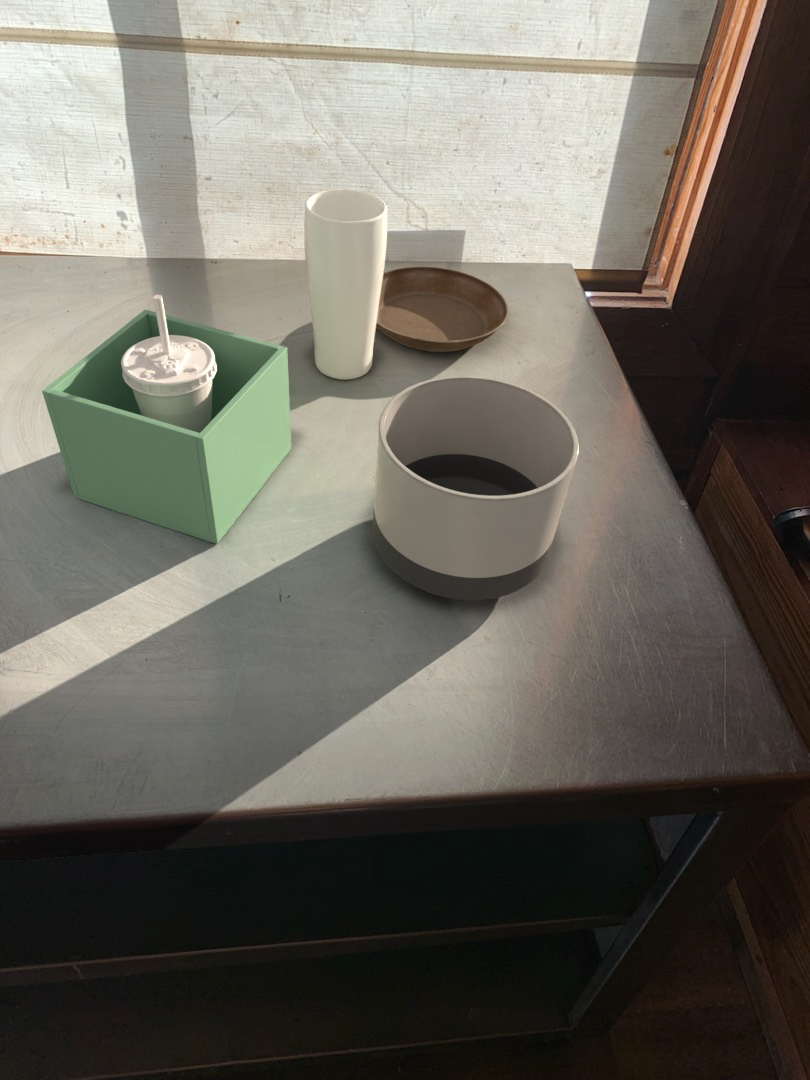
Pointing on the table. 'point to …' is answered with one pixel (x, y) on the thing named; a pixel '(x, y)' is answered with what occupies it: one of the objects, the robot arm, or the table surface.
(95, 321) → the table surface
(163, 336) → the smoothie
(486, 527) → the planter
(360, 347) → the white cup
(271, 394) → the bin
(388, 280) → the saucer
